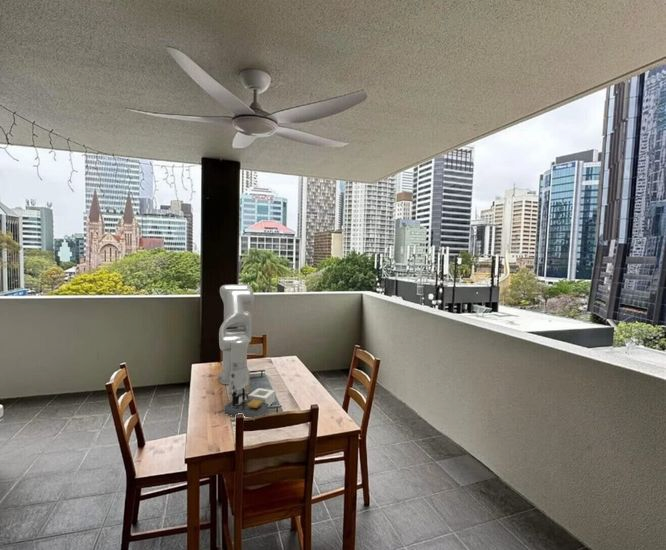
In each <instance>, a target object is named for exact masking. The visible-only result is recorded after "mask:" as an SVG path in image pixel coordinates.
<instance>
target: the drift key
mask: <svg viewBox="0 0 666 550" xmlns="http://www.w3.org/2000/svg"><path fill="white" fill-rule="evenodd" d="M261 404H262V401H260V400H254V399H253V400H252V401H250V402H249V403H248V407H250V408H255V409H257V408H258V407H259V406H260V405H261Z"/></svg>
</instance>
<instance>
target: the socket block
mask: <svg viewBox="0 0 666 550" xmlns="http://www.w3.org/2000/svg"><path fill="white" fill-rule="evenodd" d="M249 402H250V400H248V399H244V400H242V406H235V404H233V403H232V401H230V402H229V403H227V404H226V405H225V406H224V409H223V412H224V414H228V415H227V416H229V415H232V416H231V417H233V418H234V417H235V415H236V414H238V413H243V414H244V416H245V417H254V416H259V415H263V414H265V413H266V412H267V411H268V412H269V408H268V404H267V403H262V404H261V405H260V406H259V407H258V408H257V409H255V408H250V407H248V403H249ZM268 412H267V413H268ZM267 413H266V414H267ZM266 414H265V415H266ZM235 418H236V417H235Z"/></svg>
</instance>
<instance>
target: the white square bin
mask: <svg viewBox="0 0 666 550" xmlns="http://www.w3.org/2000/svg"><path fill="white" fill-rule="evenodd" d="M253 399H254V400H260V401H262V403H267V404H268V407H269V406H270V405H271V404H272V403H273V402H274V403H275V402H276V390H274V389H267V388H260V387H257V388H256V389H255V390H253V391H252V392H251V393H249V394H247V400H250V401H252V400H253ZM274 403H273V404H274ZM273 404H272V405H273ZM272 405H271V406H272ZM271 406H270V407H271ZM270 407H269V408H270Z"/></svg>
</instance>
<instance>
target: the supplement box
mask: <svg viewBox="0 0 666 550" xmlns="http://www.w3.org/2000/svg"><path fill="white" fill-rule="evenodd" d="M250 375H251V373H250V369H248V377H249V383H248V385H247V386H246V388H245V389H246V390H245V395H249V394H250V380H251V379H250ZM234 389H235V388H234ZM234 392H235V391H234ZM248 393H249V394H248Z"/></svg>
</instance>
